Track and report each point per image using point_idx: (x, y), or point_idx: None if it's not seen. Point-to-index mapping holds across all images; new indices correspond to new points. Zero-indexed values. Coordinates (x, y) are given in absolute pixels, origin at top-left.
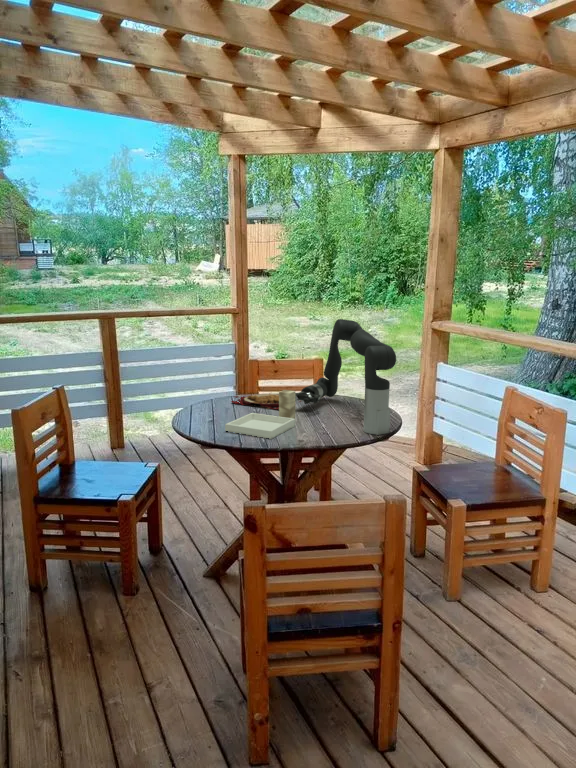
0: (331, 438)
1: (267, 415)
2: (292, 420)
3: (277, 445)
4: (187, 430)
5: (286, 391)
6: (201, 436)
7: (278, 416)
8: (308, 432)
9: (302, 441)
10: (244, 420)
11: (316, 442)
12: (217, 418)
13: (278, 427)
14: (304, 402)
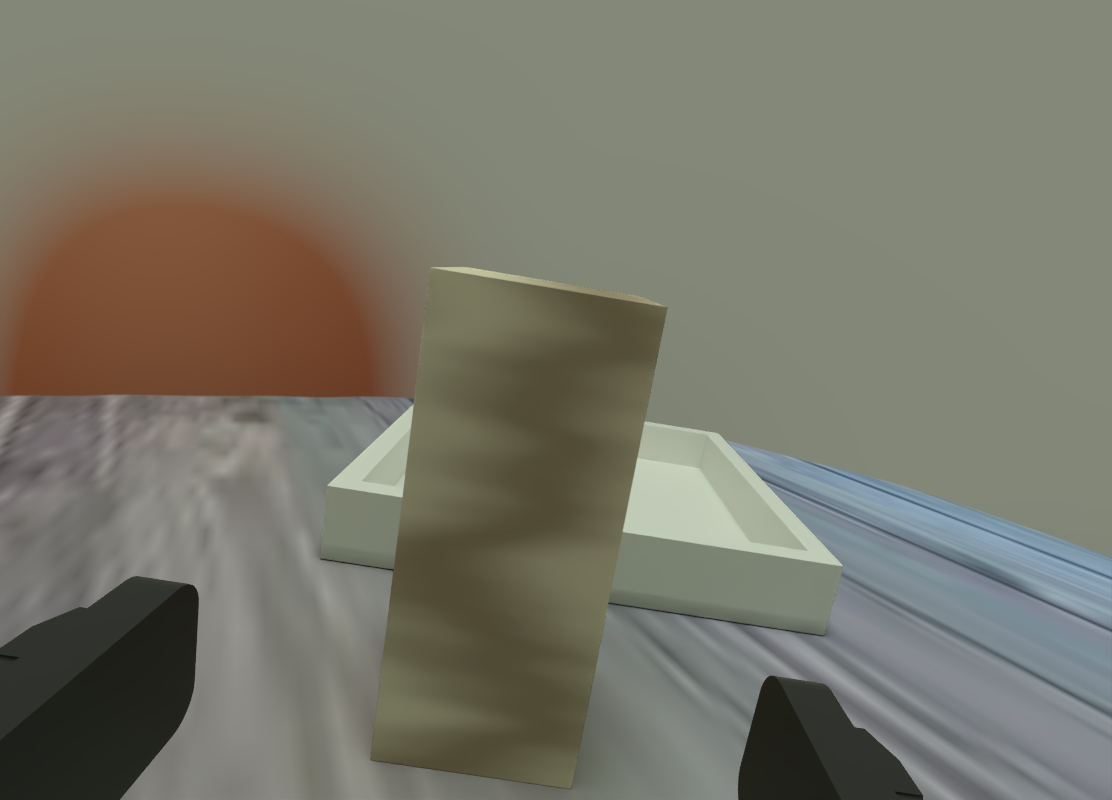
0: (6, 427)
1: (642, 526)
2: (349, 466)
3: (370, 401)
4: (864, 480)
5: (569, 287)
6: (735, 448)
7: None
8: (185, 480)
9: (242, 414)
10: (752, 518)
11: (151, 406)
12: (1061, 620)
13: (413, 405)
14: (188, 661)
